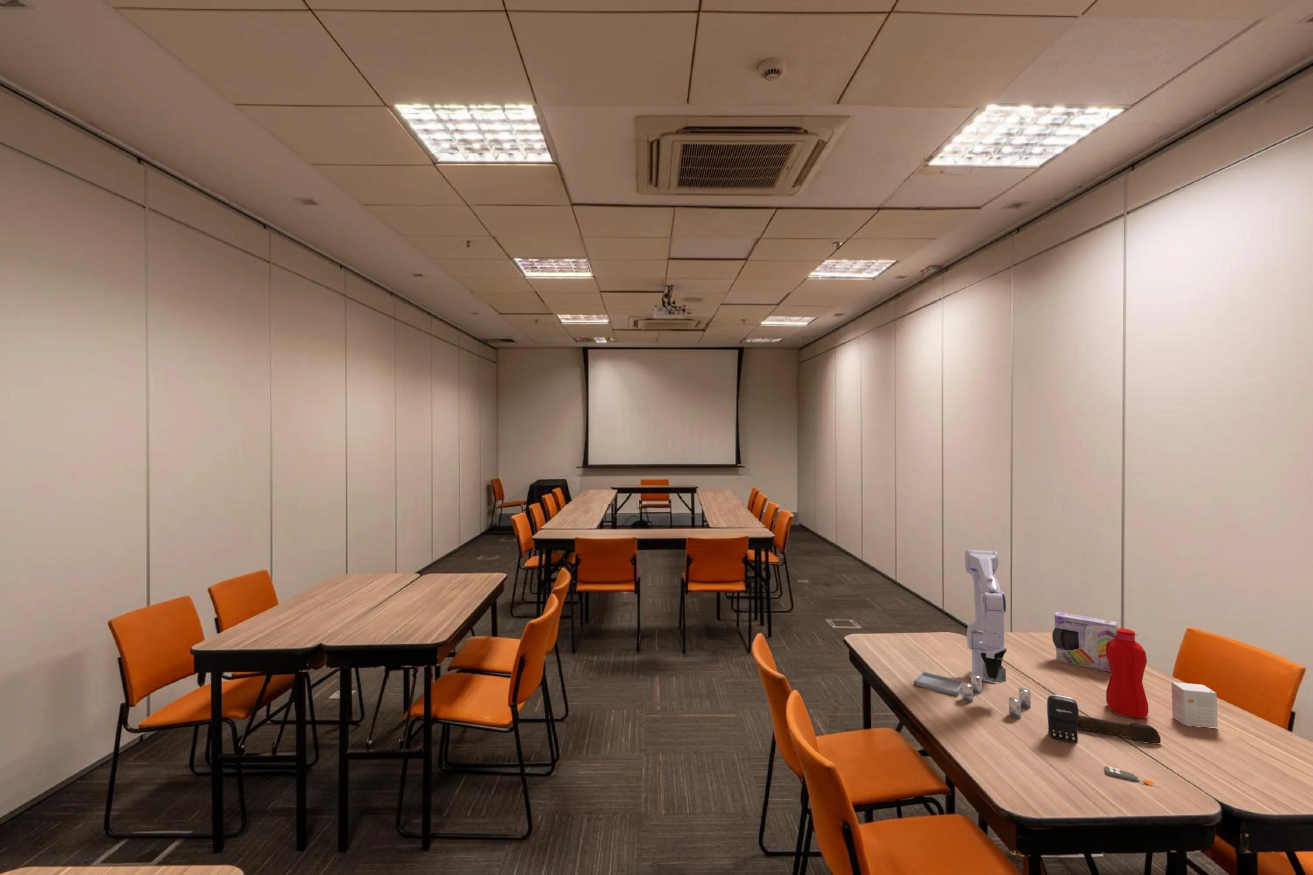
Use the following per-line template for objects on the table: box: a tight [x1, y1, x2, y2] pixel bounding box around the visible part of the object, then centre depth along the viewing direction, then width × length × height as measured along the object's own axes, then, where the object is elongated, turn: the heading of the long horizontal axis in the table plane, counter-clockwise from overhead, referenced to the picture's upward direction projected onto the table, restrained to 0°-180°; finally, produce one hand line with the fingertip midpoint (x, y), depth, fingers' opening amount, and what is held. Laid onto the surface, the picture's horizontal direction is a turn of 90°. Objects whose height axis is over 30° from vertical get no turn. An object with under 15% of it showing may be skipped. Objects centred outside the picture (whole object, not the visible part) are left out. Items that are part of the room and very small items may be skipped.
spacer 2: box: [970, 674, 983, 694], centre depth 179 cm, size 3×3×5 cm
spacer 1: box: [961, 682, 974, 703], centre depth 173 cm, size 3×3×5 cm
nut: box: [983, 664, 1007, 684], centre depth 171 cm, size 6×6×4 cm
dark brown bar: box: [1078, 715, 1162, 744], centre depth 152 cm, size 19×4×5 cm, turn 58°
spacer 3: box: [1008, 697, 1022, 720], centre depth 163 cm, size 3×3×5 cm
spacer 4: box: [1018, 687, 1032, 709], centre depth 169 cm, size 3×3×5 cm
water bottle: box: [1099, 627, 1149, 720], centre depth 166 cm, size 9×11×25 cm
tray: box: [913, 670, 965, 697], centre depth 184 cm, size 10×13×2 cm
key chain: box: [1103, 766, 1155, 786], centre depth 132 cm, size 13×4×2 cm, turn 55°
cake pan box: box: [1051, 611, 1119, 673], centre depth 200 cm, size 19×5×18 cm, turn 42°
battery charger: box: [1046, 694, 1079, 743], centre depth 150 cm, size 7×4×11 cm, turn 61°
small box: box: [1171, 681, 1219, 728], centre depth 158 cm, size 8×6×10 cm
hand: (994, 673), depth 171 cm, fingers closed on nut, 6 cm apart
